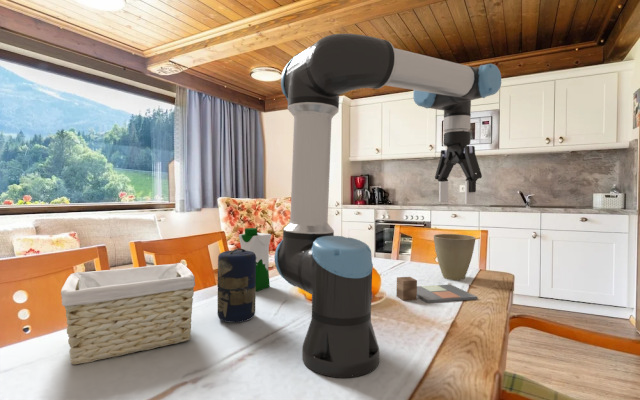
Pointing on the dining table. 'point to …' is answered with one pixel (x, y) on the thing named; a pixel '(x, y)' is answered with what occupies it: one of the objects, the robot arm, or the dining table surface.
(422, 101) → the robot arm
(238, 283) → the canister
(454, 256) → the plant pot
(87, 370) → the dining table surface
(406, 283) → the brown wooden block
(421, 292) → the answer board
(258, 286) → the milk carton
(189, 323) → the storage basket
